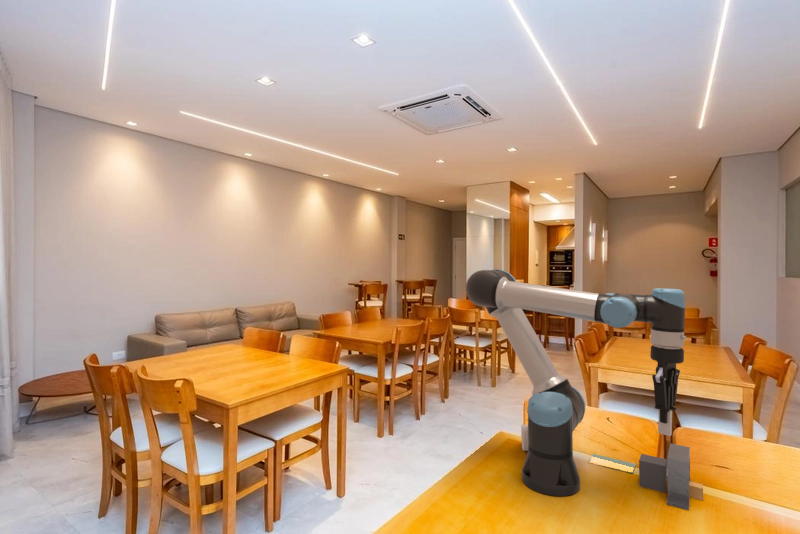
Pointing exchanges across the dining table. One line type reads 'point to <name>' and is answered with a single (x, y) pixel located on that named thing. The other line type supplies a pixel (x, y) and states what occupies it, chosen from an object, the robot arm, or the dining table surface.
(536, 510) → the dining table surface
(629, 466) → the pad
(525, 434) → the mug
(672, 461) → the housing
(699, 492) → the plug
